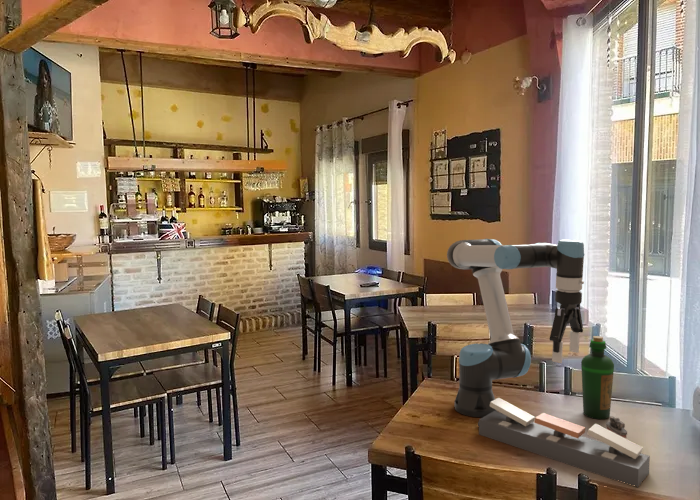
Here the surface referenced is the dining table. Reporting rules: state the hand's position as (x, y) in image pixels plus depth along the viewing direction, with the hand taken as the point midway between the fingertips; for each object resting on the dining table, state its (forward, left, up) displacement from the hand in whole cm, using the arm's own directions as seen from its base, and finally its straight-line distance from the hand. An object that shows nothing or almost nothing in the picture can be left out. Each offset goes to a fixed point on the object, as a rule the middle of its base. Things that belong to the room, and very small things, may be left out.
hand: (565, 356), depth 161 cm
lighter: (+14, +3, -27) cm, 31 cm away
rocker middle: (+2, -9, -19) cm, 21 cm away
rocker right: (+17, -9, -19) cm, 27 cm away
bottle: (0, +27, -27) cm, 38 cm away
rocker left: (-14, -9, -19) cm, 25 cm away
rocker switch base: (0, -10, -27) cm, 28 cm away
